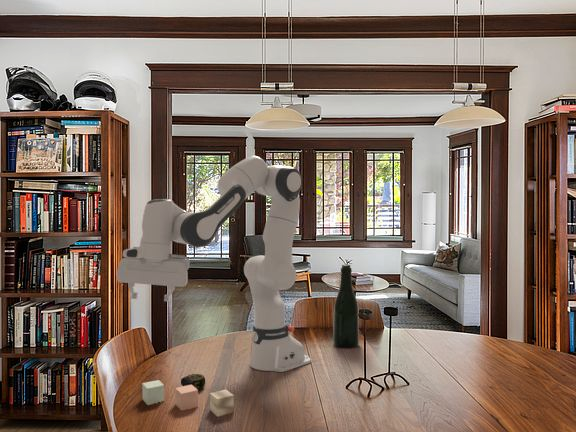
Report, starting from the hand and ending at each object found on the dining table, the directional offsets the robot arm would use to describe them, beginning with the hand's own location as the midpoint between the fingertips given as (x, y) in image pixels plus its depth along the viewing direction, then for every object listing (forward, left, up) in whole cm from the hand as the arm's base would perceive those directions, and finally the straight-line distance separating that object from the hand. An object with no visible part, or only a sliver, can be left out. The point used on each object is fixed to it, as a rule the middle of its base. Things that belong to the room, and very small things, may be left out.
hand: (150, 299), depth 146 cm
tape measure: (-14, -3, -31) cm, 34 cm away
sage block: (-1, -1, -31) cm, 31 cm away
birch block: (-15, +17, -31) cm, 38 cm away
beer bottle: (-84, -12, -31) cm, 90 cm away
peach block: (-8, +8, -31) cm, 33 cm away
